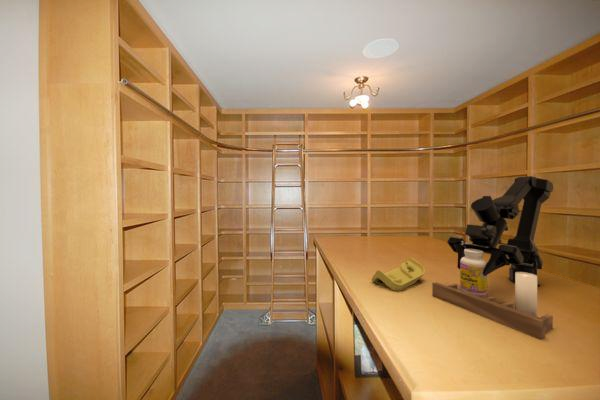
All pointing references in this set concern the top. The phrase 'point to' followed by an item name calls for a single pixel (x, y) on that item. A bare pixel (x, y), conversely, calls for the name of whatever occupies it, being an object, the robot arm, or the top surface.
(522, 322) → the walnut holder rail
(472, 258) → the supplement bottle
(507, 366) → the top surface
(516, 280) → the white pillar candle
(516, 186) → the robot arm
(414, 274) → the plastic component
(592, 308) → the top surface
